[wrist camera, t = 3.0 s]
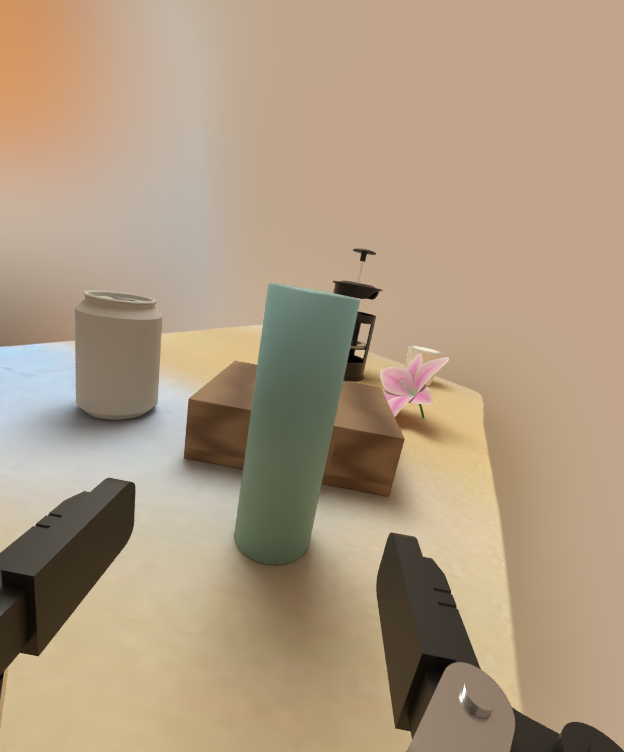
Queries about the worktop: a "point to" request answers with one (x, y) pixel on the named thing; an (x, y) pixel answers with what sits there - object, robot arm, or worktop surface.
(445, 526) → the worktop surface
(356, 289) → the french press
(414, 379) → the lily
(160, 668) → the worktop surface
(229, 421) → the well block
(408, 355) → the white cylinder
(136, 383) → the can
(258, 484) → the peg
